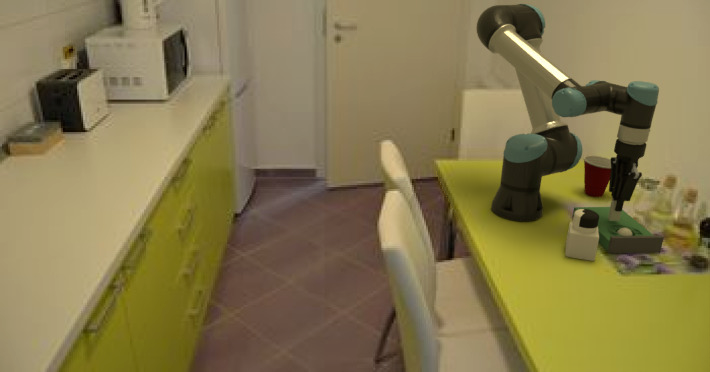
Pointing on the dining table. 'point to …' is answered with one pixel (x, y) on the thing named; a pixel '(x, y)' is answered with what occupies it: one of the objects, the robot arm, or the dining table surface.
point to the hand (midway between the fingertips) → (613, 219)
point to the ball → (624, 232)
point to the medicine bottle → (583, 235)
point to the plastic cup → (596, 175)
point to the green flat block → (624, 244)
